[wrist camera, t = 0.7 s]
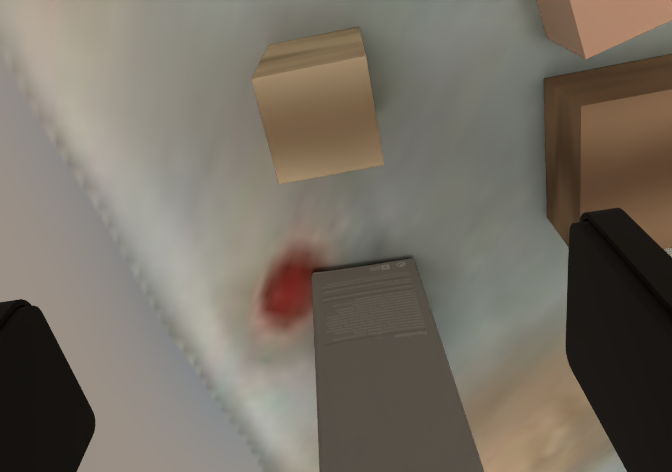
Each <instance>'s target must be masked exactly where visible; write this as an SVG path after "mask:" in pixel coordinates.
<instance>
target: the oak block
mask: <svg viewBox="0 0 672 472" xmlns="http://www.w3.org/2000/svg"><path fill="white" fill-rule="evenodd" d="M251 80H252V84H253V87H254V91H255V95H256V99H257V103H258V106H259V110H260V114H261V118H262V122H263V125H264V129H265V133H266V137H267V141H268V144H269V148H270V152H271V156H272V160H273V163H274V167H275V171H276V175H277V179H278V182H279V184H283V183H289V182H294V181H300V180H305V179H310V178H316V177H321V176H327V175H332V174H338V173H343V172H349V171H354V170H360V169H365V168H371V167H376V166H382V165H384V161H383V155H382V149H381V143H380V137H379V130H378V124H377V118H376V112H375V106H374V100H373V94H372V88H371V82H370V76H369V70H368V64H367V58H366V53H365V49H364V45H363V41H362V37H361V33H360V29H359V27H355V28H350V29H345V30H341V31H336V32H331V33H326V34H321V35H316V36H311V37H306V38H302V39H297V40H292V41H287V42H282V43H277V44H272V45H269V46H268V48H267V50H266V52H265V54H264V56H263V58H262V60H261V61H260V63H259V65H258V67H257V69H256V71H255V73H254V75H253V77H252V79H251Z"/></svg>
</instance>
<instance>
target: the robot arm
mask: <svg viewBox="0 0 672 472" xmlns="http://www.w3.org/2000/svg"><path fill="white" fill-rule="evenodd" d="M566 354H567V359H568V362H569V365H570V367H571V369H572V371H573V373H574V375H575V377H576V379H577V380H578V382H579V384H580V386H581V388H582V390H583V391H584V393H585V395H586V397H587V399H588V401H589V402H590V404H591V406H592V408H593V410H594V412H595V413H596V415H597V417H598V419H599V421H600V423H601V424H602V426H603V428H604V430H605V432H606V434H607V435H608V437H609V439H610V441H611V443H612V445H613V446H614V448H615V450H616V452H617V454H618V456H619V457H620V459H621V461H622V463H623V465H624V467H625V468H626V470H627V472H672V257H671V256H670V255H669V254H667V253H666V252H665V251H664V250H663V249H662V248H661V247H660V246H659V245H658V244H657V243H656V242H655V241H654V240H653V239H652V238H651V237H650V236H649V235H648V234H647V233H646V232H645V231H644V230H643V229H642V228H641V227H640V226H639V225H638V224H637V223H636V222H635V221H634V220H633V219H632V218H631V217H630V216H629V215H628V214H627V213H626V212H625V211H624V210H622V209H621V208H611V209H605V210H598V211H592V212H585V213H583V214H582V215H581V217H580V221H579V222H576V223H572V224H571V226H570V231H569V258H568V289H567V321H566ZM94 430H95V416H94V413H93V411H92V409H91V407H90V405H89V403H88V401H87V399H86V397H85V395H84V393H83V391H82V390H81V387H80V385H79V383H78V381H77V379H76V377H75V375H74V374H73V372H72V370H71V368H70V366H69V364H68V362H67V360H66V358H65V356H64V354H63V352H62V350H61V348H60V346H59V344H58V342H57V340H56V338H55V336H54V334H53V333H52V331H51V329H50V327H49V325H48V323H47V321H46V319H45V317H44V315H43V313H42V311H41V310H40V309H39V308H38V307H36V306H31V304H30V303H29V302H27V301H26V300H22V299H20V300H14V301H7V302H0V472H77V469H78V467H79V465H80V463H81V460H82V458H83V456H84V454H85V452H86V449H87V447H88V445H89V443H90V440H91V438H92V436H93V434H94Z"/></svg>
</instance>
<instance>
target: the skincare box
mask: <svg viewBox="0 0 672 472" xmlns="http://www.w3.org/2000/svg"><path fill="white" fill-rule="evenodd" d="M311 281H312V297H313V321H314V345H315V367H316V392H317V418H318V443H319V468H320V472H484V470H483V467H482V463H481V460H480V457H479V454H478V451H477V448H476V445H475V442H474V439H473V436H472V433H471V430H470V426H469V423H468V420H467V417H466V414H465V411H464V408H463V405H462V402H461V399H460V396H459V393H458V390H457V387H456V384H455V381H454V378H453V375H452V372H451V369H450V366H449V363H448V360H447V357H446V354H445V351H444V348H443V345H442V342H441V339H440V336H439V333H438V330H437V327H436V324H435V321H434V318H433V315H432V312H431V309H430V306H429V303H428V300H427V297H426V294H425V291H424V288H423V285H422V281H421V278H420V275H419V272H418V269H417V266H416V263H415V260H414V259H405V260H398V261H391V262H385V263H379V264H373V265H368V266H361V267H354V268H346V269H340V270H334V271H324V272H314V273H313V274H312V276H311Z"/></svg>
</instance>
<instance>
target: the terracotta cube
mask: <svg viewBox="0 0 672 472" xmlns="http://www.w3.org/2000/svg"><path fill="white" fill-rule="evenodd" d="M536 2H537V5H538V9H539V12H540V15H541V18H542V22H543V25H544V28H545V32H546V35H547V38H548V39H550V40H551V41H553V42H555V43H557V44H559V45H561V46H562V47H564V48H566V49H568V50H570V51H572V52H573V53H575V54H577V55H579V56H581V57H583V58H584V59H588V58H590V57H592V56H594V55H597V54H599V53H601V52H603V51H605V50H608V49H610V48H612V47H614V46H616V45H619V44H621V43H623V42H625V41H627V40H629V39H632V38H634V37H636V36H638V35H640V34H643V33H645V32H647V31H649V30H651V29H654V28H656V27H658V26H660V25H662V24H665V23H667V22H669V21H671V20H672V0H536Z"/></svg>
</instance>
